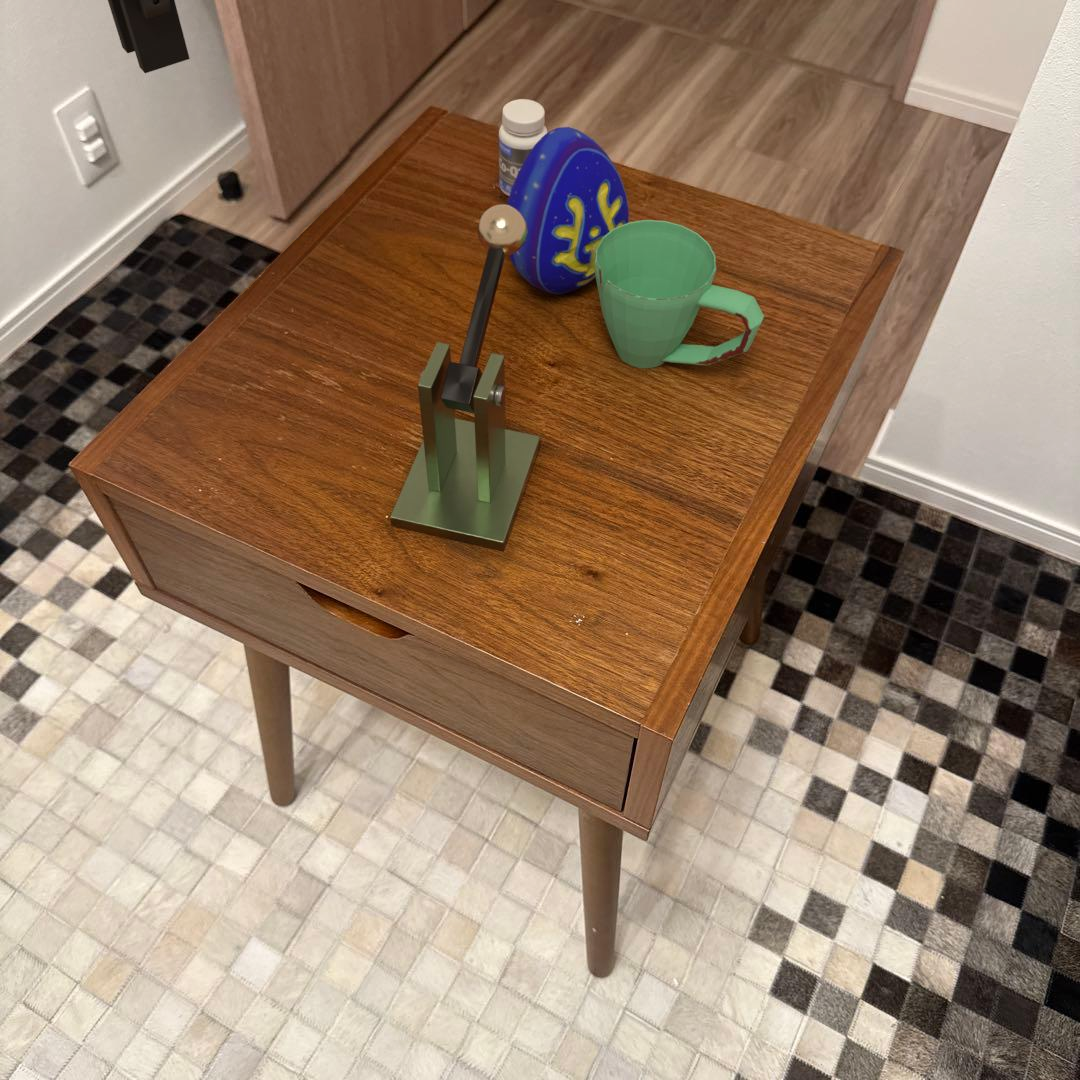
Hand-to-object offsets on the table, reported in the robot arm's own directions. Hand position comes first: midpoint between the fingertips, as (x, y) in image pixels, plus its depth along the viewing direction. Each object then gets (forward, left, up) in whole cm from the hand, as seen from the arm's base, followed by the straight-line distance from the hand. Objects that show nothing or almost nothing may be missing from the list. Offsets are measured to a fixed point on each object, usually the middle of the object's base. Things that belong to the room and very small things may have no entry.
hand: (155, 52), depth 62 cm
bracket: (+16, +8, -32) cm, 37 cm away
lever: (+13, +13, -20) cm, 27 cm away
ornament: (+4, +31, -33) cm, 45 cm away
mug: (+18, +30, -33) cm, 48 cm away
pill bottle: (-8, +38, -33) cm, 51 cm away
